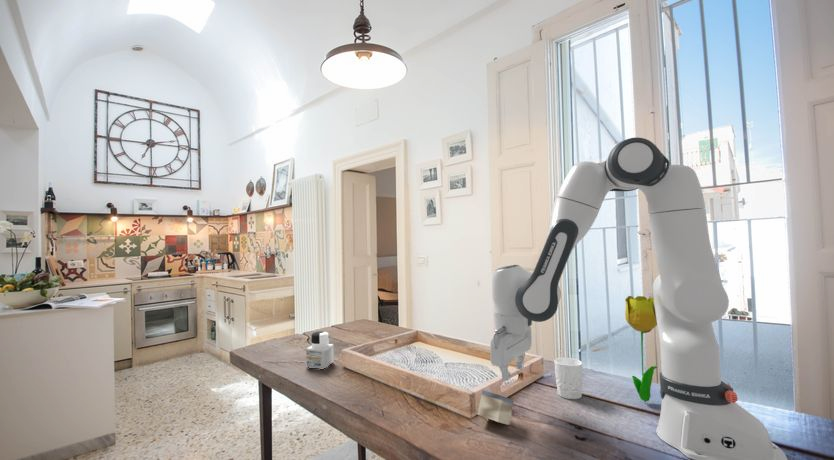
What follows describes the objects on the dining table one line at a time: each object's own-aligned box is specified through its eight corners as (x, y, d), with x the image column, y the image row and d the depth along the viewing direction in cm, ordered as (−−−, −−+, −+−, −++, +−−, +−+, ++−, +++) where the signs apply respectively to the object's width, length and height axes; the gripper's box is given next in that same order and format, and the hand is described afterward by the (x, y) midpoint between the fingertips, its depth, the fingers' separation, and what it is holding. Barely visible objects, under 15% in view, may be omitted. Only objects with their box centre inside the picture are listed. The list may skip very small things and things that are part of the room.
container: (306, 368, 140) (305, 334, 140) (317, 362, 147) (316, 329, 147) (323, 370, 137) (323, 335, 138) (334, 363, 145) (333, 330, 145)
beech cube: (502, 396, 91) (497, 421, 89) (513, 400, 95) (509, 425, 93) (482, 389, 95) (477, 414, 93) (493, 394, 99) (488, 417, 97)
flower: (621, 400, 105) (617, 296, 106) (638, 394, 109) (634, 293, 110) (652, 412, 97) (647, 300, 99) (670, 405, 101) (664, 297, 102)
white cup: (553, 397, 108) (552, 363, 109) (557, 388, 115) (555, 356, 116) (582, 402, 105) (581, 367, 105) (584, 392, 112) (583, 359, 112)
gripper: (505, 332, 92) (508, 388, 91) (534, 317, 108) (537, 365, 107) (482, 330, 95) (485, 383, 95) (513, 316, 112) (516, 361, 111)
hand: (513, 373), depth 101 cm, fingers open, 8 cm apart
